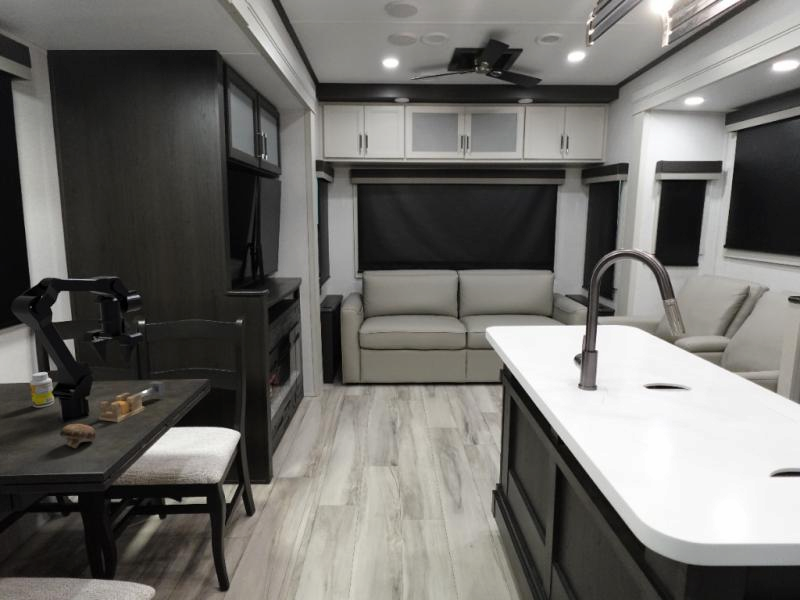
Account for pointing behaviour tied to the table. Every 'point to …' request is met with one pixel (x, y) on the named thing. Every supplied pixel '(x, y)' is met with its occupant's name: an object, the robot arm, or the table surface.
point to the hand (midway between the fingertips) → (115, 362)
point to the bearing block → (115, 414)
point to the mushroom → (77, 434)
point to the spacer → (123, 406)
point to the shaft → (153, 389)
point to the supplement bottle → (41, 390)
